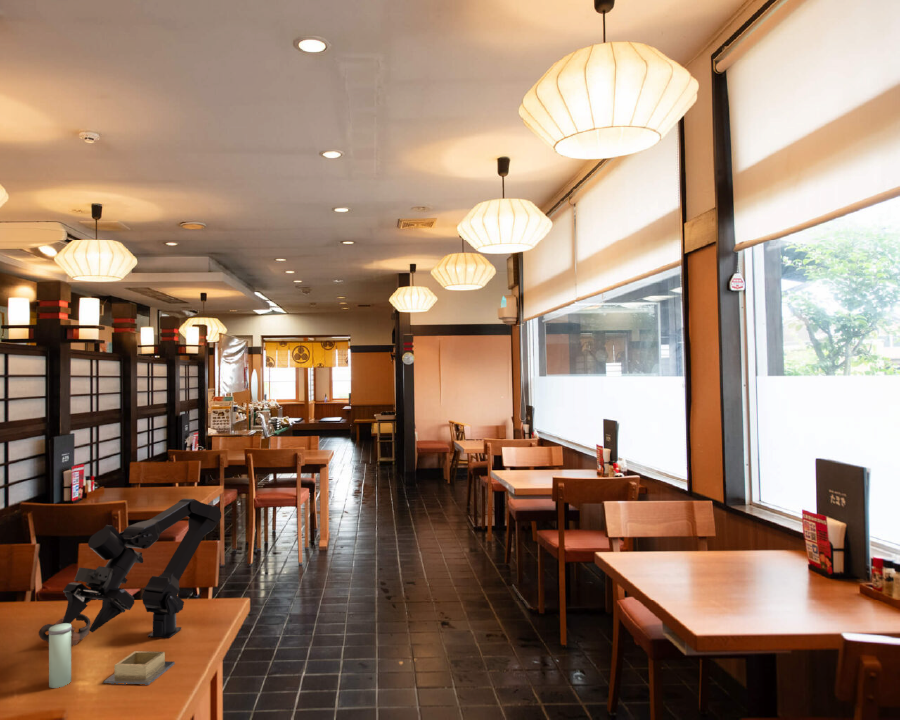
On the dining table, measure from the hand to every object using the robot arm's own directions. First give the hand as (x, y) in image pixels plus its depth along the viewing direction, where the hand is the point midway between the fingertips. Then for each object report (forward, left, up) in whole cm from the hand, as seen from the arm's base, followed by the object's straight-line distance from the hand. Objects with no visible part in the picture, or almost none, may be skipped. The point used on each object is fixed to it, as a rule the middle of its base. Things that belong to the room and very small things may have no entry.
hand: (76, 629), depth 151 cm
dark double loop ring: (-19, -18, -11) cm, 28 cm away
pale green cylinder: (+4, -1, -11) cm, 12 cm away
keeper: (-2, +15, -11) cm, 19 cm away
